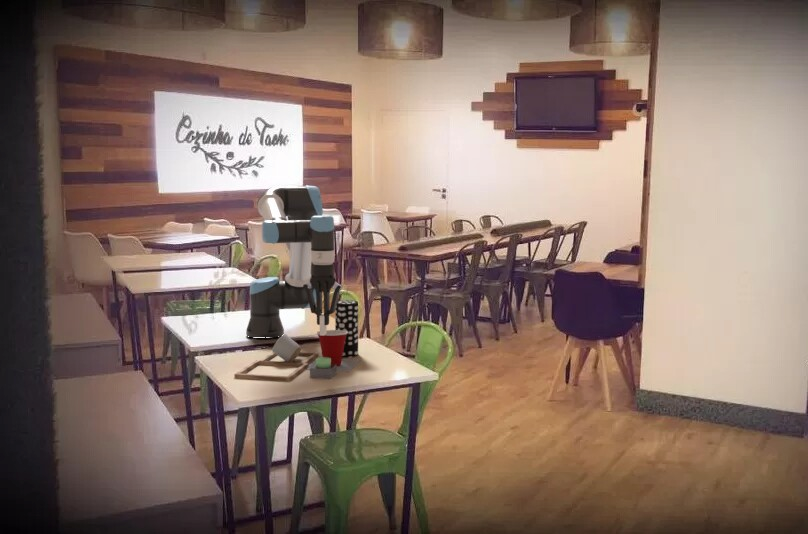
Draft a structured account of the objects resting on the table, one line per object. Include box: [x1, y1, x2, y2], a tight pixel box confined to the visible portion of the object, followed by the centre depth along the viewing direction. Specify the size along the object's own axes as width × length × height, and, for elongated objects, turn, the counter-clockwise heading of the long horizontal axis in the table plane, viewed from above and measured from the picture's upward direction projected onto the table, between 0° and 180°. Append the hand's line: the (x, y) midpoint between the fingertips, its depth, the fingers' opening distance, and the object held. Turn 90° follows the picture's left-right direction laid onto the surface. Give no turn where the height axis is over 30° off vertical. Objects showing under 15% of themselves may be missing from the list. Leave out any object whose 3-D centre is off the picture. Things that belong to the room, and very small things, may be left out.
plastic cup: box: [316, 329, 348, 366], centre depth 273 cm, size 11×11×12 cm
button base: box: [309, 364, 337, 380], centre depth 260 cm, size 7×7×4 cm
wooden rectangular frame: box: [234, 351, 319, 382], centre depth 271 cm, size 34×19×2 cm, turn 169°
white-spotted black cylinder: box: [334, 299, 359, 359], centre depth 287 cm, size 8×8×20 cm
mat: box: [303, 358, 361, 373], centre depth 274 cm, size 16×16×1 cm
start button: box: [315, 356, 331, 368], centre depth 259 cm, size 5×5×2 cm
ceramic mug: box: [271, 333, 302, 362], centre depth 279 cm, size 11×8×8 cm
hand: (323, 334), depth 258 cm, fingers closed
